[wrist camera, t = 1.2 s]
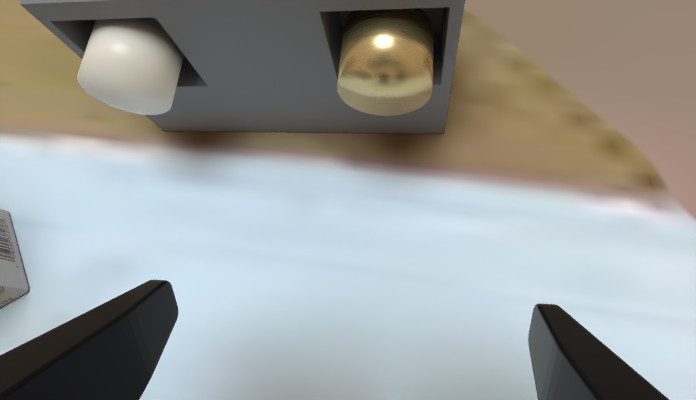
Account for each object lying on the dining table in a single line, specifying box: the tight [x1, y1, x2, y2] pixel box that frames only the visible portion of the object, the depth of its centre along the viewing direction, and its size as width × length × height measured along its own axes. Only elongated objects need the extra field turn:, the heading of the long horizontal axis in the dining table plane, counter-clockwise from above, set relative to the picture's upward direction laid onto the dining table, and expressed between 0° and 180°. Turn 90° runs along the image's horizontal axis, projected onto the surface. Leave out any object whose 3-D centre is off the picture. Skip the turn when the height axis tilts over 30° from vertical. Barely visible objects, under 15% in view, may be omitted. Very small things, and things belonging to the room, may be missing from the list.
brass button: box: [337, 8, 434, 116], centre depth 18 cm, size 3×4×4 cm
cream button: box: [77, 18, 184, 115], centre depth 20 cm, size 3×4×4 cm
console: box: [21, 0, 465, 134], centre depth 22 cm, size 6×18×12 cm, turn 85°
